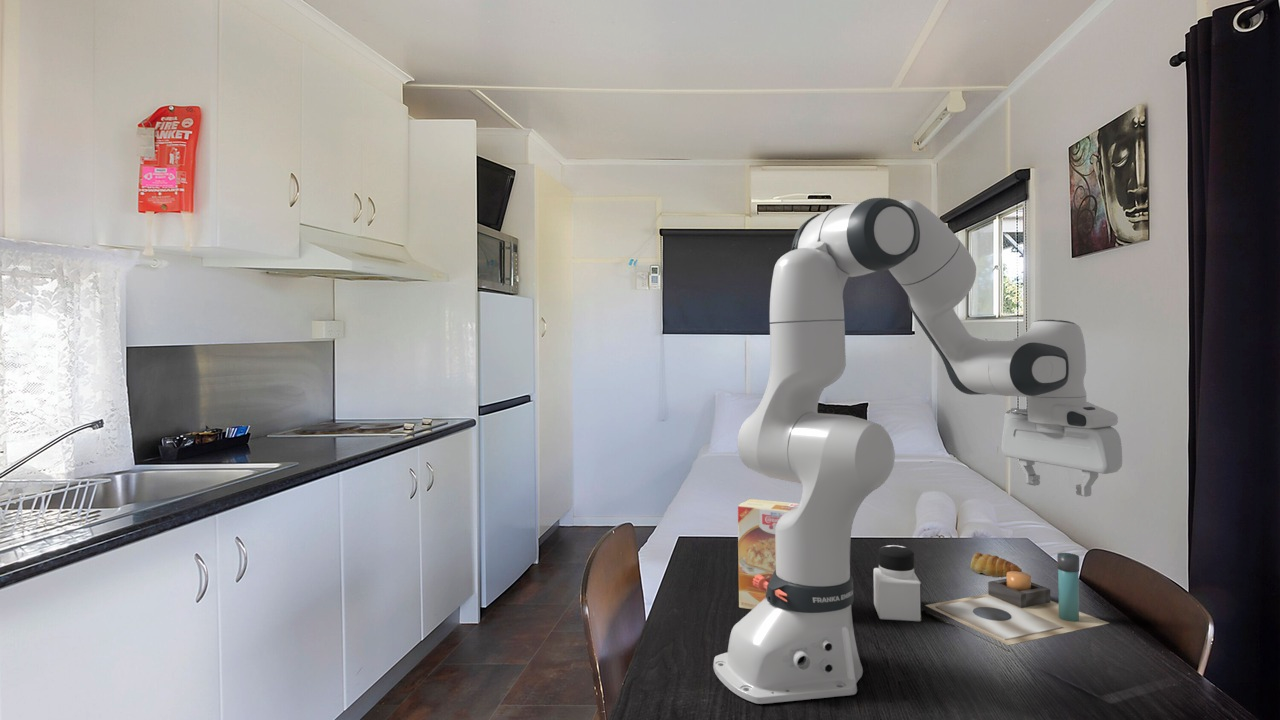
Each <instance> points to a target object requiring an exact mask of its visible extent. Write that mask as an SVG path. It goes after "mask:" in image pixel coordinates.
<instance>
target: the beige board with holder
mask: <svg viewBox="0 0 1280 720" xmlns="http://www.w3.org/2000/svg"><path fill="white" fill-rule="evenodd" d="M987 583H988V584H987V585H988V586H987V587H988V588H987V589H988V591H987V592H988V593H985V594H979V595H975V596H969V597H963V598H958V599H956V598H955V599H953V600H952V599H951V600H946V601H941V602H940V601H939V602H936V603H929V604H925V605H924V607H927V608H930V609H931V610H933V611H935V612H937V613H940V614H942V615H944V616H945V617H948V618H950V619H953V620H955V621H956V622H959V623H961V624H963V625H964V626H967V627H969V628H971V629H972V630H975V631H977V632H980V633H981V634H983V635H985V636H988V637H990V638H992V639H994V640H996V641H998V642H1000V643H1002V644H1004V645H1006V646H1012V645H1016V644H1017V645H1018V644H1021V643H1025V642H1030V641H1034V640H1038V639H1039V640H1040V639H1043V638H1048V637H1049V638H1050V637H1052V636H1058V635H1062V634H1068V633H1072V632H1076V631H1082V630H1086V629H1090V628H1095V627H1100V626H1104V625H1108V624H1110V622H1108V621H1105V620H1104V619H1103V620H1102V619H1100V618H1097V617H1095V616H1093V615H1089V614H1088V613H1084V612H1081V611H1079V621H1077V622H1070V621H1065V620H1062V619H1060V618H1059V604H1058V602H1055V601H1052V600H1051V588H1049V587H1046V586H1042V585H1041V584H1037V583H1034V582H1032V581H1031V590H1025V591H1018V590H1015V589H1013V588H1010V587H1008V586H1007V578H1003V579H1002V578H1001V579H997V580H990V581H988V582H987ZM924 611H925V612H927V613H929V614H931V615H933V616H935V617H937V618H939V619H941V620H943V621H945V622H947V621H948V620H947V619H944V618H943V617H941V616H938V615H936V614H934V613H933V612H930V611H928V610H926V609H924ZM947 623H949V624H951V625H952V626H956V627H957V628H960V629H961V630H964V631H966V632H968V633H970V634H972V635H974V636H976V637H978V638H980V639H981V640H984V641H986V642H988V643H990V644H992V645H994V646H996V647H998V648H999V649H1000V648H1001V649H1002V650H1005V651H1007V652H1009V649H1005V648H1004V647H1002V646H1000V645H998V644H995V643H994V642H992V641H990V640H988V639H986V638H983V637H981V636H980V635H977V634H975V633H973V632H971V631H969V630H968V629H965V628H963V627H961V626H958V625H956V624H955V623H952V622H950V621H948V622H947Z"/></svg>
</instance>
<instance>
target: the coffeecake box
mask: <svg viewBox="0 0 1280 720" xmlns="http://www.w3.org/2000/svg"><path fill="white" fill-rule="evenodd" d="M799 504H800V503H797V502H787V501H774V500H768V499H767V500H765V499H756V498H755V499H754V498H747V500H745V501H744V502H741V503H739V504H738V505H737V539H738V540H737V541H738V542H737V548H738V549H737V550H738V553H737V554H738V607H739V608H741V609H747V610H752V609H754V608H755V607H756V606H757V605H758V604H759V603H760V602H761V601H762V600H763V599H764V598H765V597H766V592H767V590H765V591H761V590H760V589H759V588H756V587H755V586H754V585H753V584H754V583H753V581H754V580H753V578H755V576H756V575H762V576H763V577H764V578H767V579H768V580H769V582H770V580H771V577H772V575H773V573H774V571H775V570H776V555H775V527H776V524H777V522H778V520H779V519H780V518H781V516H782V515H784V514H785V513H786V512H788V511H789V510H791V509H793V508H795V507H798V506H799Z"/></svg>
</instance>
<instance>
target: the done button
mask: <svg viewBox="0 0 1280 720" xmlns="http://www.w3.org/2000/svg"><path fill="white" fill-rule="evenodd" d="M1006 579H1007V586H1008V587H1010V588H1013V589H1015V590H1018V591H1025V590H1031V582H1032V575H1030V574H1029V573H1026V572H1023V571H1022V572H1017V571H1010V572H1007V577H1006Z"/></svg>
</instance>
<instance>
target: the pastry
mask: <svg viewBox="0 0 1280 720" xmlns="http://www.w3.org/2000/svg"><path fill="white" fill-rule="evenodd" d="M970 570H972V571H973V572H974V573H976V574H983V575H985V576H988V577H995V578H999V577H1001V578H1007V572H1010V571H1017V572H1023V571H1022V568H1020V567H1019V566H1018V565H1017V564H1015V563H1013V562H1012V561H1009V560H1007V559H1005V558H1002V557H999V555H991V554H989V553H986V554H983V553H981V552H975V553H974V554H973V556H972V558H971V562H970Z"/></svg>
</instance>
